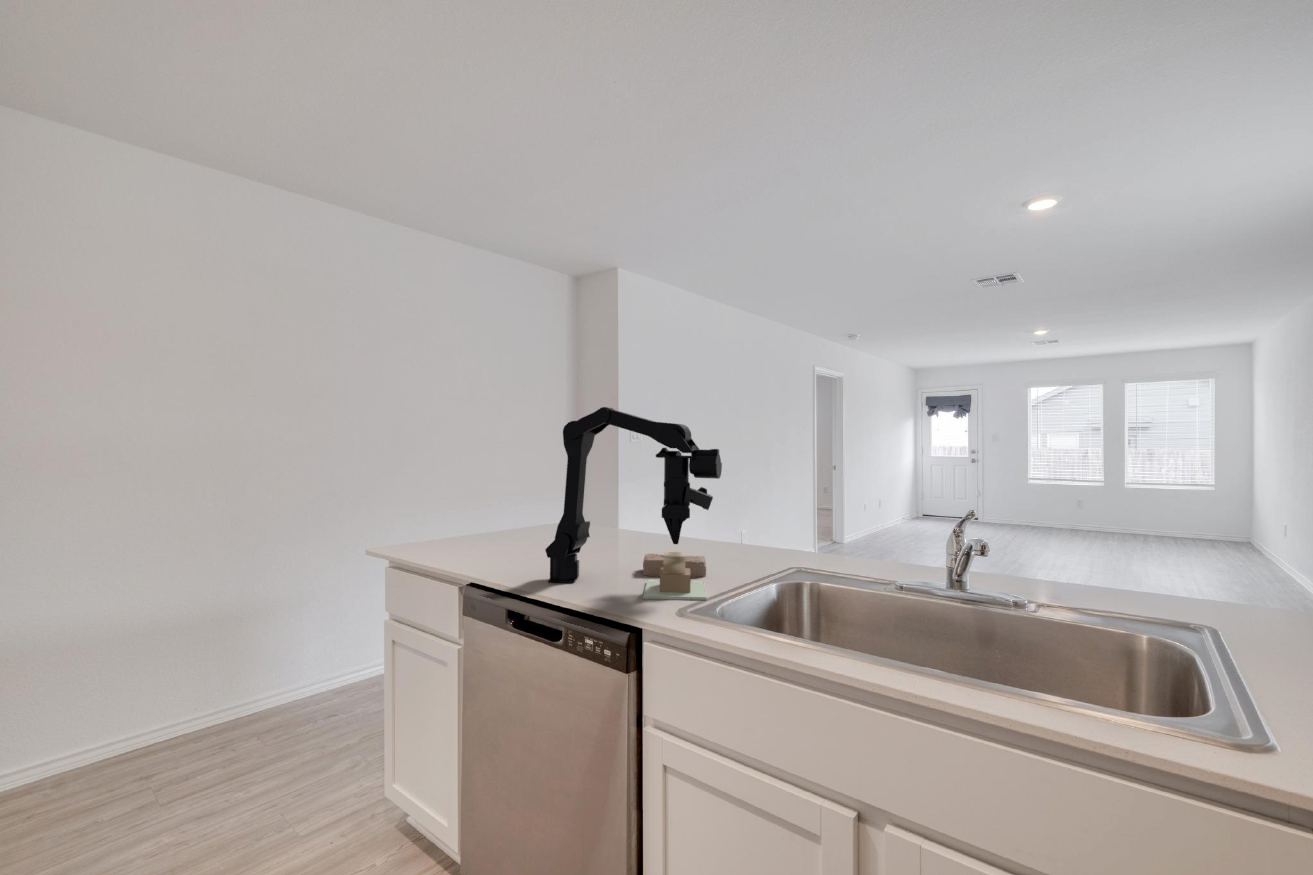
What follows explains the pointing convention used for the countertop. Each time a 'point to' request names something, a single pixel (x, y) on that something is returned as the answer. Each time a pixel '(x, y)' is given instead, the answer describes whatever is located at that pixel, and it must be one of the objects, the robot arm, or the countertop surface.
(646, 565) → the brick
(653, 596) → the baseplate
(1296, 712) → the countertop surface
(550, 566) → the robot arm
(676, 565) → the maple block
